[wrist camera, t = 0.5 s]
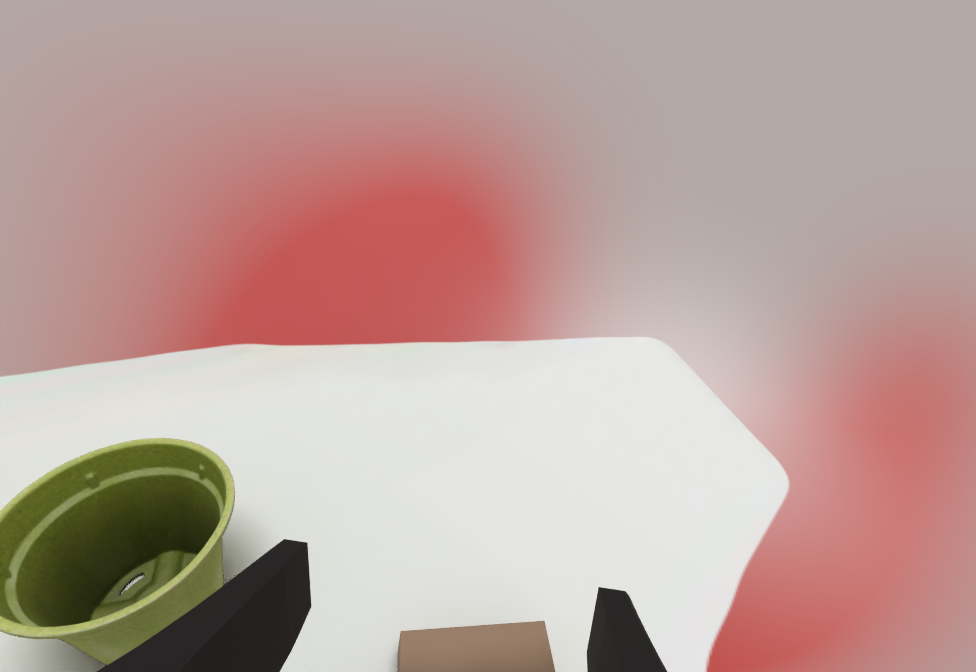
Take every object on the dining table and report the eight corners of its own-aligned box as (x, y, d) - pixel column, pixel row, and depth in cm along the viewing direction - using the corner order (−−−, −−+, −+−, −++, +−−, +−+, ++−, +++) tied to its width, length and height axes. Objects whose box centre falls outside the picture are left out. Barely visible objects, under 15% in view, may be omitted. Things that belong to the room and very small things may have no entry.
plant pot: (291, 572, 28) (277, 485, 23) (138, 757, 20) (69, 687, 15) (178, 506, 30) (143, 413, 25) (3, 650, 23) (-95, 559, 18)
